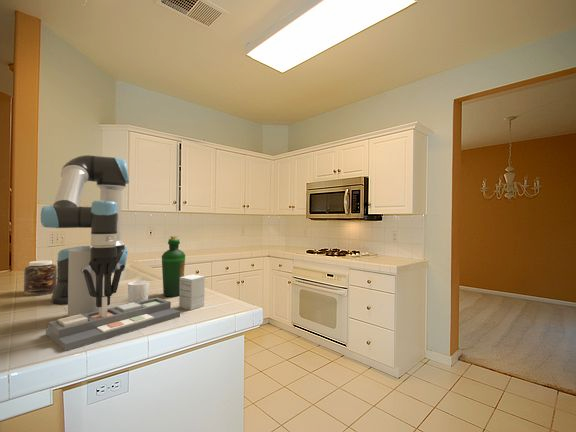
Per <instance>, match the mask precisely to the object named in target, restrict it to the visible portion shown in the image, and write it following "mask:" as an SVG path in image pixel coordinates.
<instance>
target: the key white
mask: <svg viewBox="0 0 576 432" xmlns="http://www.w3.org/2000/svg"><path fill="white" fill-rule="evenodd" d="M57 320H58V324H59V325H60V326H62V327H67V326H71V325H75V324H79V323H83V322H87V321H88V318H86V317H85V316H83V315H81V314H79V315H75V316H71V317H68V316H67V317H61V318H59V319H58V318H57Z"/></svg>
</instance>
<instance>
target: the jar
mask: <svg viewBox="0 0 576 432" xmlns="http://www.w3.org/2000/svg"><path fill="white" fill-rule="evenodd" d="M23 271H24V272H23V274H24V275H23V295H24V296H27V297H35V296H37V297H38V296H46V295H49V294H53V293H54V290H55V288H56V285H57V265H56V264H54V263H53V260H50V259H49V260H47V259H44V260H43V259H42V260H35V261H34V260H33V261H29V264H28V265H27V266H25V267H24V270H23Z"/></svg>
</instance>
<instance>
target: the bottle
mask: <svg viewBox="0 0 576 432" xmlns="http://www.w3.org/2000/svg"><path fill="white" fill-rule="evenodd" d="M180 244H181V242H180V238H178V236H176V235H175V236H174V235H172V236H171V235H170V238H169V239H168V242H167V245H168V248H169V249H167V250H166V251H165V252H163V253H162V255H161V269H162V270H161V273H162V291H163V293H162V294H163V296H165V297H168V298H170V297H171V298H173V297H178V296H179V297H180V277H184V276H185V266H186V265H185V264H186V254H185V253H184V251H183V250H181V249H179V247H180Z"/></svg>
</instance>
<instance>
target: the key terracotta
mask: <svg viewBox="0 0 576 432" xmlns="http://www.w3.org/2000/svg"><path fill="white" fill-rule="evenodd" d="M111 315H113V314H111V313H109V312H108V313H107V316H111ZM107 316H105V317H107ZM91 317H92V318H94V319H99V318H103V317H101V316H99V315H95V316H91Z"/></svg>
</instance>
